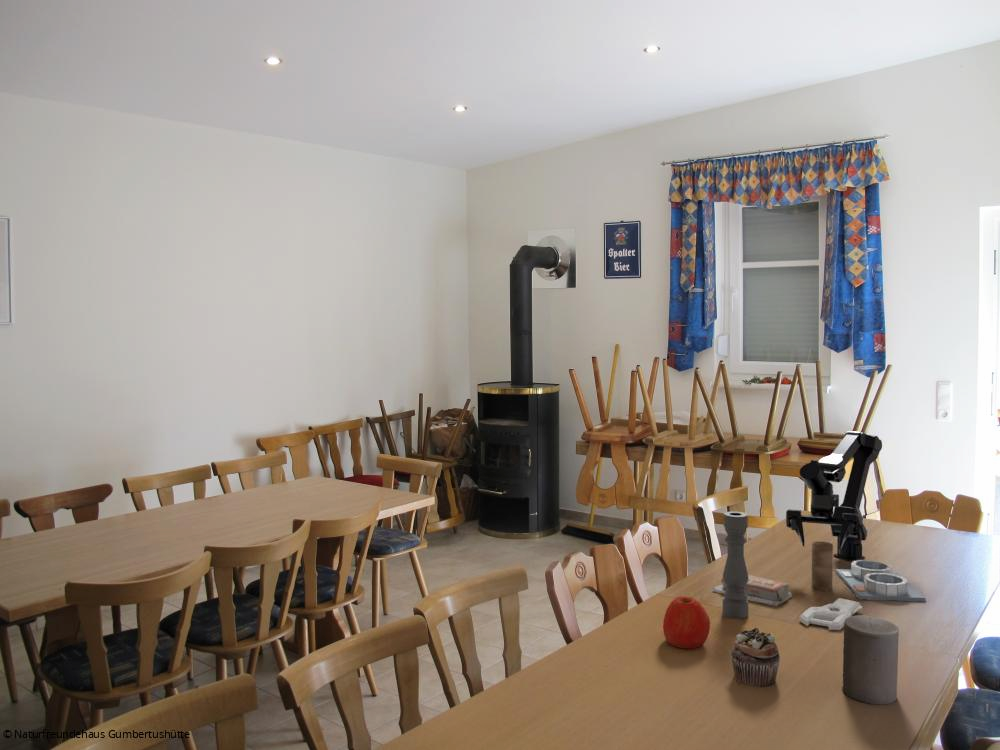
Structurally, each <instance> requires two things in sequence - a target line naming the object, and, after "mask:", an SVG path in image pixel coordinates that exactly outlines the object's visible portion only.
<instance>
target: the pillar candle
mask: <svg viewBox="0 0 1000 750" xmlns="http://www.w3.org/2000/svg"><path fill="white" fill-rule="evenodd" d="M899 632H900V628H899V626H898V625H896V624H895V623H894V622H892V621H889V620H888V619H886V618H881V617H877V616H871V615H870V616H869V615H861V614H860V615H859V614H858V615H857V614H856V615H852V616H851V617H848V618H846V619H845V621H844V627H843V647H842V648H843V650H842V654H843V655H842V656H843V659H842V687H841V690H842V692H843V694H845V695H846V696H847V697H849V698H851V699H853V700H855V701H858V702H862V703H864V704H870V705H890V704H893V703H894V702H895V701H896V700H897V696H898V693H897V692H898V669H899V668H898V667H899V664H898V663H899V662H898V661H899V636H900V635H899Z"/></svg>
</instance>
